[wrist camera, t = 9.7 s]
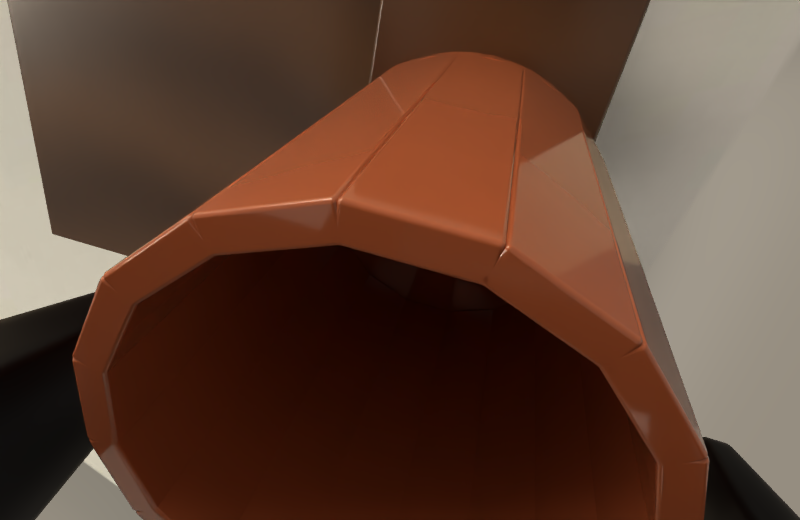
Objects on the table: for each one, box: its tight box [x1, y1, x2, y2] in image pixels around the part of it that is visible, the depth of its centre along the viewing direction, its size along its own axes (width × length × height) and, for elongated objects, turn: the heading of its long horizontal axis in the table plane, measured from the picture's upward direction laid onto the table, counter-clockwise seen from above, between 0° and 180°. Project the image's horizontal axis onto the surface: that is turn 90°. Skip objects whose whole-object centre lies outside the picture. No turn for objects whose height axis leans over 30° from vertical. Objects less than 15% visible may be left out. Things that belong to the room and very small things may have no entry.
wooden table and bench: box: [7, 0, 650, 256], centre depth 16 cm, size 14×17×8 cm
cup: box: [72, 52, 710, 520], centre depth 9 cm, size 6×6×8 cm
